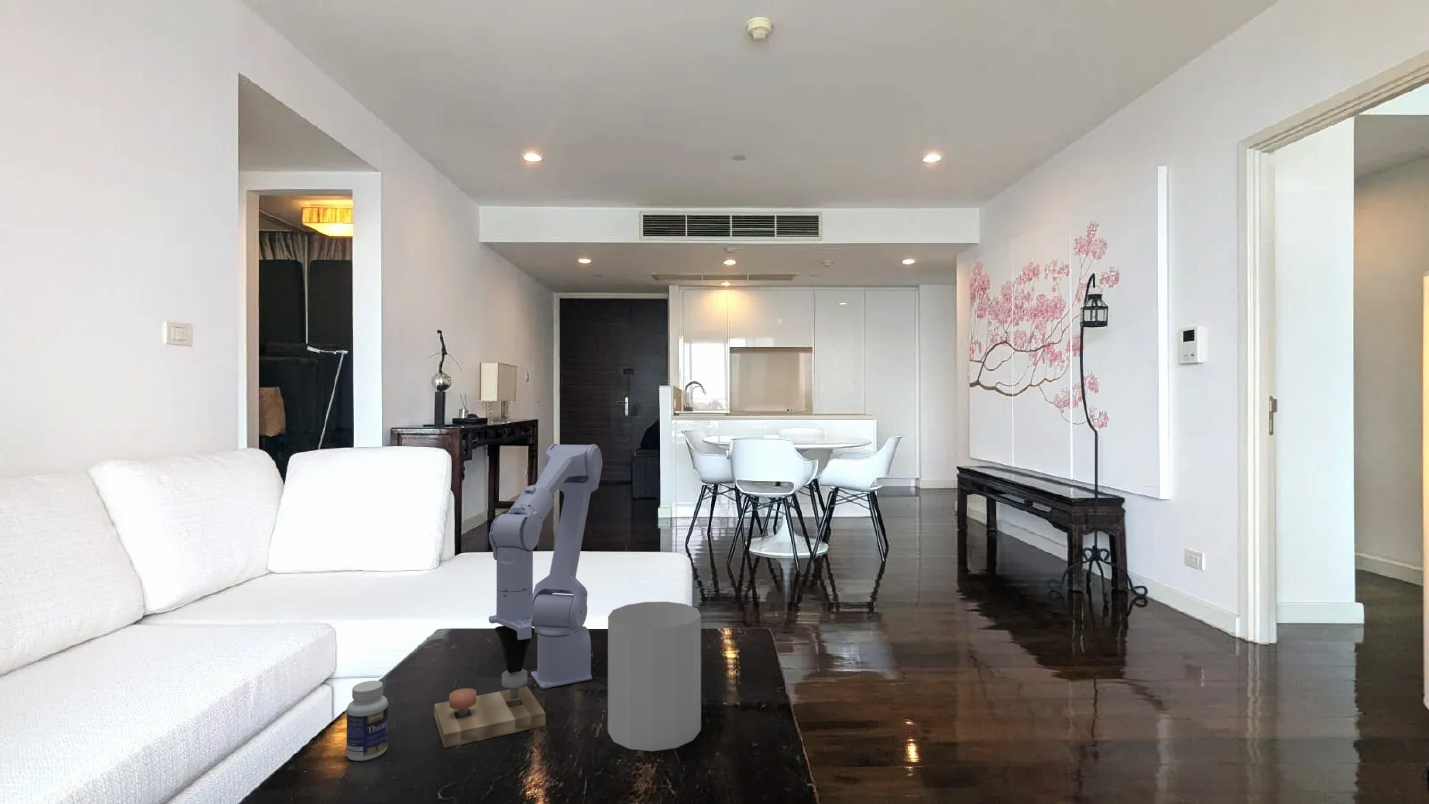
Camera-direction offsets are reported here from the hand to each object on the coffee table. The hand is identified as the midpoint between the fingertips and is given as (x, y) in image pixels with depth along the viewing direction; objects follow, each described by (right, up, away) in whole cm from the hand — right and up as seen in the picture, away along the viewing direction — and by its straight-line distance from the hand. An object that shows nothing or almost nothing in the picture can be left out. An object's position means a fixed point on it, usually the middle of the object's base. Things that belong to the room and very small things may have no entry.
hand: (514, 671), depth 112 cm
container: (+23, -8, -4) cm, 25 cm away
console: (-3, -7, -2) cm, 8 cm away
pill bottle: (-18, -7, -12) cm, 23 cm away
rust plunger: (-7, -6, -4) cm, 10 cm away
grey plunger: (0, -4, 0) cm, 4 cm away
